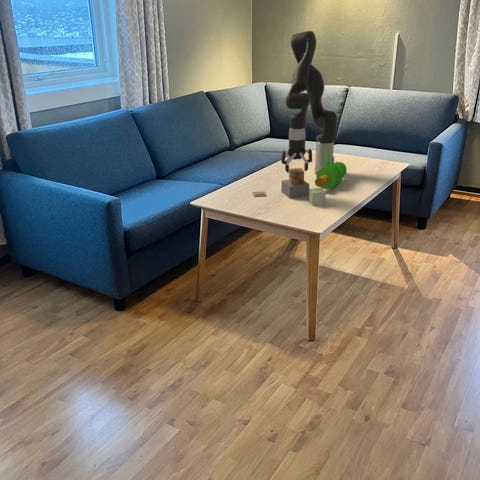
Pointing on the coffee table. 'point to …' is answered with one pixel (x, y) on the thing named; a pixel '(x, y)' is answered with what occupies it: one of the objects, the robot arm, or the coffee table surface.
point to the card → (259, 194)
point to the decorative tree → (330, 175)
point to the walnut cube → (296, 176)
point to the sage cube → (317, 196)
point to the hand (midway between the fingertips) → (296, 171)
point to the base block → (294, 189)
